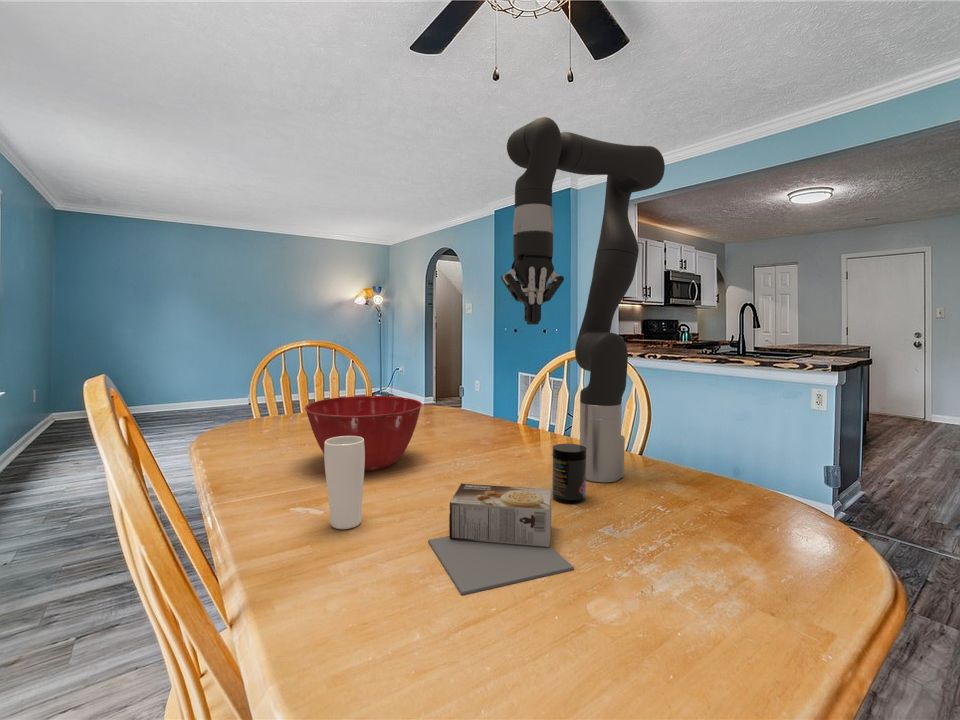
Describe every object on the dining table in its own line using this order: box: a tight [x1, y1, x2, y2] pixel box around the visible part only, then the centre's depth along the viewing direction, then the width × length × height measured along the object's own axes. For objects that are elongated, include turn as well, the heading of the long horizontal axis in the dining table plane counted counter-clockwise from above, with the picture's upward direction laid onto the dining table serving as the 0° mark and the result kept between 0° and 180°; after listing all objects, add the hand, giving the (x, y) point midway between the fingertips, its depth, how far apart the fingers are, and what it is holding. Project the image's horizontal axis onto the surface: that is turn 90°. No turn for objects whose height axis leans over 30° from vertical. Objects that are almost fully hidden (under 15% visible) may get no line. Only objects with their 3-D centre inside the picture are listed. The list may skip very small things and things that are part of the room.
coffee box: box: [448, 483, 553, 547], centre depth 77 cm, size 9×6×16 cm
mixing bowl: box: [304, 395, 423, 473], centre depth 117 cm, size 28×28×16 cm
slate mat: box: [427, 535, 575, 596], centre depth 70 cm, size 17×16×1 cm
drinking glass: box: [323, 436, 365, 530], centre depth 81 cm, size 7×7×15 cm
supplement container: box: [551, 443, 587, 505], centre depth 93 cm, size 7×7×10 cm
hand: (532, 324), depth 89 cm, fingers closed
